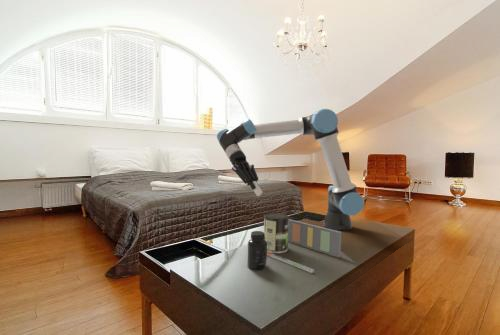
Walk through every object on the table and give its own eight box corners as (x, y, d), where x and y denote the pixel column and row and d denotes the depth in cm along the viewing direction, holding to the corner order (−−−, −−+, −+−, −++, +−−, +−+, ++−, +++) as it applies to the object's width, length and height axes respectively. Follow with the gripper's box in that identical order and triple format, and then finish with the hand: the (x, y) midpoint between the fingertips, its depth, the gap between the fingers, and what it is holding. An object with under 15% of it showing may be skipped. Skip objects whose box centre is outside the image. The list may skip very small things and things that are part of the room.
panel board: (286, 240, 118) (287, 218, 118) (340, 257, 100) (341, 231, 99) (284, 240, 117) (285, 219, 117) (338, 258, 99) (339, 232, 98)
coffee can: (288, 245, 111) (289, 213, 110) (287, 254, 101) (288, 219, 100) (264, 243, 113) (265, 212, 112) (261, 252, 103) (262, 217, 102)
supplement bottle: (244, 263, 91) (245, 230, 91) (261, 261, 94) (262, 229, 94) (251, 272, 85) (252, 236, 85) (270, 269, 88) (271, 234, 87)
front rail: (257, 250, 105) (257, 247, 105) (313, 272, 86) (314, 269, 86) (255, 251, 104) (255, 248, 104) (311, 273, 85) (312, 270, 85)
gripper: (229, 149, 117) (254, 190, 106) (249, 150, 126) (274, 188, 115) (221, 160, 121) (244, 201, 110) (241, 160, 130) (265, 198, 119)
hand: (259, 194), depth 112 cm, fingers closed
